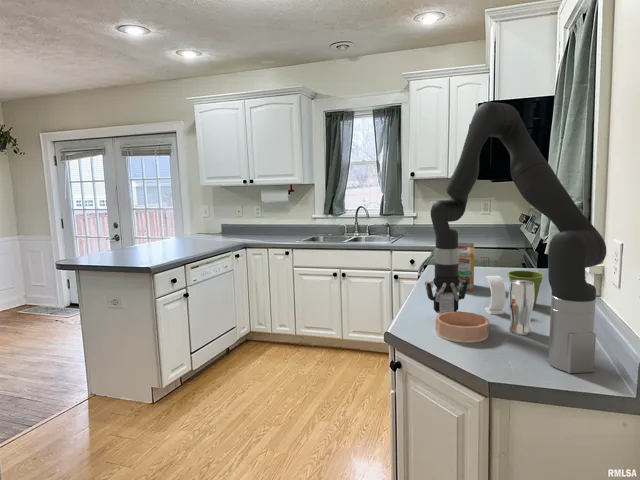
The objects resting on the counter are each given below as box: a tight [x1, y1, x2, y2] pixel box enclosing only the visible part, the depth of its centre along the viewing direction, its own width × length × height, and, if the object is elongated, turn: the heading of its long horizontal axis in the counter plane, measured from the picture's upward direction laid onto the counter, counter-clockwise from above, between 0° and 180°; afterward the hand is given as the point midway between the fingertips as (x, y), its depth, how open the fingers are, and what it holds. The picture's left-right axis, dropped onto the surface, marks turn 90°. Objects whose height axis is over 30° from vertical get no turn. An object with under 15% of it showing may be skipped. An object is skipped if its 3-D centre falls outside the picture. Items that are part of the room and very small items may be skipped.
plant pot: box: [507, 269, 545, 307], centre depth 158 cm, size 12×12×11 cm
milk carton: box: [456, 241, 475, 292], centre depth 184 cm, size 11×11×19 cm
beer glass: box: [508, 280, 535, 336], centre depth 131 cm, size 7×7×15 cm
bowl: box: [435, 311, 490, 344], centre depth 131 cm, size 15×15×4 cm
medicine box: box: [438, 292, 454, 314], centre depth 146 cm, size 8×4×9 cm, turn 169°
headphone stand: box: [484, 275, 507, 315], centre depth 150 cm, size 5×6×12 cm
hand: (446, 311), depth 147 cm, fingers closed on medicine box, 5 cm apart
